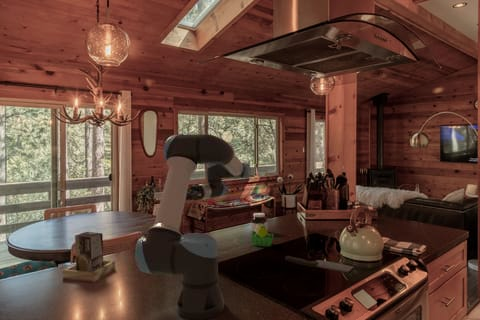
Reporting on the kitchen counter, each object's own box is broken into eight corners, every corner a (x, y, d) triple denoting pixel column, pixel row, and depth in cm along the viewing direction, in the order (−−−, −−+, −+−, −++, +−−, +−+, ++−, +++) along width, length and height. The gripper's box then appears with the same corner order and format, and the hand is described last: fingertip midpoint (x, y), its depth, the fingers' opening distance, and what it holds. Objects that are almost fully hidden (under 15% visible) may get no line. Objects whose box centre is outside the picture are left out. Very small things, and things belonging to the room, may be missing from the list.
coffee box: (104, 271, 138) (103, 233, 138) (91, 277, 133) (90, 237, 132) (88, 268, 142) (87, 231, 142) (75, 273, 136) (74, 234, 136)
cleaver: (282, 262, 149) (282, 258, 149) (290, 256, 157) (290, 252, 157) (350, 275, 135) (351, 270, 135) (355, 267, 143) (355, 262, 143)
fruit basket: (273, 243, 178) (273, 222, 178) (272, 248, 170) (272, 226, 169) (252, 242, 180) (252, 221, 180) (250, 247, 172) (250, 225, 171)
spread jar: (260, 230, 206) (260, 211, 205) (274, 233, 198) (273, 214, 197) (246, 234, 198) (246, 214, 197) (260, 237, 189) (259, 217, 189)
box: (93, 282, 129) (93, 273, 129) (62, 279, 132) (62, 270, 132) (115, 269, 143) (114, 261, 142) (86, 266, 146) (86, 258, 146)
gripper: (217, 202, 154) (180, 208, 138) (184, 197, 171) (147, 202, 156) (217, 186, 154) (179, 191, 138) (184, 182, 171) (147, 186, 155)
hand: (162, 197), depth 147 cm, fingers open, 13 cm apart
